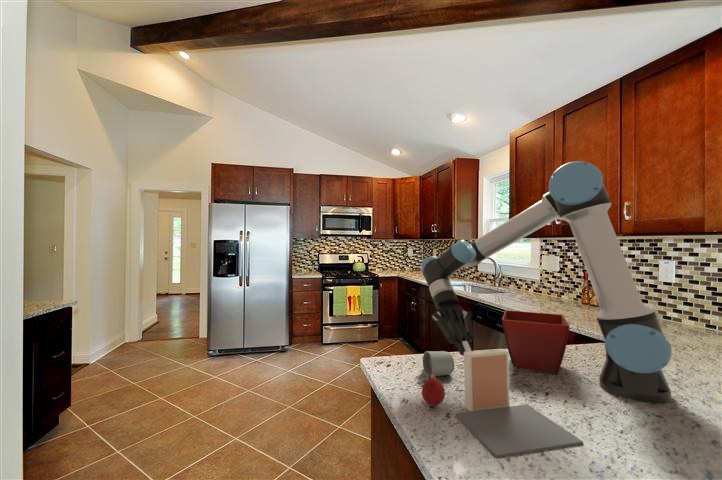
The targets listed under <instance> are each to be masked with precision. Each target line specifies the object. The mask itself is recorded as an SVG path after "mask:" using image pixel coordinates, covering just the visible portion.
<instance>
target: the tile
mask: <svg viewBox="0 0 722 480" xmlns="http://www.w3.org/2000/svg"><path fill="white" fill-rule="evenodd" d="M463 367H464V369H463V372H464V404H465V405H464V406H465V408H466V409H467V410H468V412H470V411H478V410H486V409H494V408H502V407H510V406H511V405H510V404H511V403H510V402H511V401H510V373H509V372H510V371H509V370H510V368H509V352H508V350H505V349H503V348H494V349H482V350H474V351H468V352H464V356H463Z"/></svg>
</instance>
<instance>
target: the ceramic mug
mask: <svg viewBox="0 0 722 480" xmlns="http://www.w3.org/2000/svg"><path fill="white" fill-rule="evenodd" d="M422 367H423V371H424V373H425V375H426V376H427V377H428V378H431V376H432V375H435V376H436V377H441V376H449V375H451V374H453V372H454V370H455V361H454V358H453V356H452V354H451V353H450V352H448V351H445V350H440V351H439V350H438V351H429V350H428V351H427V350H426V351H425V352H424V353H423V355H422Z"/></svg>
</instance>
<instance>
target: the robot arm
mask: <svg viewBox="0 0 722 480" xmlns="http://www.w3.org/2000/svg"><path fill="white" fill-rule="evenodd" d="M611 206H612V201H611V199H610V196H609V194H608V191H607V188H606V186H605V184H604V175H603V173H602V171H601V170H600V169H599V168H598V167H597V166H595V165H594V164H592V163H590V162H587V161H583V160H577V161H575V160H574V161H570V162H567V163H565V164H563V165H561V166H560V167H558V168H556V170H554V172H553V173H552V175H551V176H550V178H549V181H548V192H546V193H544V194H543V195H542V198H541V200H539V201H538V202H536V203H534V204H532V205H531V206H530V207H528V208H526V209H525V210H523V211H521V212H520V213H518V214H516V215H514V216H513V217H511V218H510V219H509V220H506V221H505V222H503V223H501V224H500V225H498V226H497V227H495V228H493V229H492V230H490V231H489V232H487V233H485V234H484V235H482V236H481V237H479V238H477V239H475V240H474V241H472V242H471V243H470V242H469V241H466V240H465V239H461V240H458V241H457V242H456V243H453V245H452V246H450V247H449V248H448V249H447V250H445V251H444V252H443V253H442V254H440V255H439V256H436V255H432V256H429V257H426V258H424V259H423V260H422V262H421V265H420V266H421V270H422V275H423V278H424V279H425V281H426V285H427V287H428V289H429V292H430V296H431V298H432V300H433V303H434V307H435V309H436V312H433V315H432V317H431V319H432V321H434V322H435V323H436V325H437V326H438V328H439V329H440V330H441V333H442V334H443V336H444V337H445V340H446V341H447V342H448V343H449V344H450V345H452V344H454V347H456V348H457V349H458V352H459V354H460V356H463V357H464V352H468V351H475V350H474V348H473V345H472V344H471V343H472V342H473V341H474V339H475V333H474V329H473V323H472V311H471V310H468V311H465V310H464V309H463V307H462V306H461V305H460V301H459V299H458V297H457V294H456V292H455V290H454V287H453V286H452V283H451V281H450V279H449V278H450V277H451V276H452V275H454V274H455V273H456V272H457V271H459V270H461V269H462V268H469V267H470V268H473V267H476V266H478V265H480V263H482V262H483V261H484V260H486V259H488V258H490V257H491V256H493V255H495V254H497V253H498V252H501V251H502V250H504V249H506V248H507V247H509V246H511V245H513V244H514V243H516V242H518V241H520V240H522V239H524V238H525V237H527V236H529V235H531V234H533V233H534V232H536V231H538V230H539V229H541V228H543V227H546V226H547V225H548V224H550V223H552V222H553V221H556V220H560V221H561V220H562V221H565V222H567V223H568V224H569V226H570V229H571V232H572V235H573V237H574V240H575V242H576V245H577V248H578V252H579V255H581V259H582V262H583V264H584V267H585V271H586V273H587V276H588V278H589V281H590V284H591V286H592V287H591V288H592V290H593V292H594V294H595V297H596V299H597V303H598V307H599V311H598V313H597V314H596V315H595V318H596V320H597V323H598V326H599V329H600V332H601V335H602V337H603V340H604V348H605V359H604V360H605V361H604V363H603V365H602V369H601V372H600V374H599V377H598V379H599V380H598V381H599V386H600V387H601V388H602V389H603V390H605V391H606V392H608V393H611V394H612V395H615V396H617V397H621V398H623V399H627V400H631V401H635V402H641V403H646V404H667V403H670V402H671V401H672V391H671V388H670V386H669V385H670V384H669V383H668V380H667V379H666V376H665V375H664V371H663V369H664V368H666V367H667V365H668V364H669V362H670V360H671V358H672V347H671V344H670V342H669V340H668V339H667V337H666V336H665V335H664V332H663V330H662V327H661V325H660V319H659V314H658V313H657V312H656V311H655V310H654V309H653V308H652V307H650V306H648V305H646V304H644V303H643V301H642V298H641V295H640V293H639V290H638V288H637V286H636V285H637V284H636V283H635V281H634V278H633V276H632V273H631V270H630V267H629V265H628V262H627V260H626V258H625V257H626V256H625V255H624V252H623V250H622V248H621V247H622V246H621V245H620V242H619V239H618V237H617V233H616V232H615V230H614V227H613V224H612V222H611V220H610V216H609V214H608V211H609V209H610V208H611ZM463 322H464V323H463Z"/></svg>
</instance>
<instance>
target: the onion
mask: <svg viewBox="0 0 722 480" xmlns="http://www.w3.org/2000/svg"><path fill="white" fill-rule="evenodd" d="M421 396H422V399H423V401H424V402H425V403H426V404H427V405H429V407H431V408H436V407H438V406H439V405H440V404H442V403H443V401H444V400H445V398H446V391H445V388H444V385H443V383H441V382H440V381H439V380H438V379H437V376H435V375H432V376H431V377H429V378H428V379H427V380H426V381H424V383H423V385H422V388H421Z"/></svg>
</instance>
